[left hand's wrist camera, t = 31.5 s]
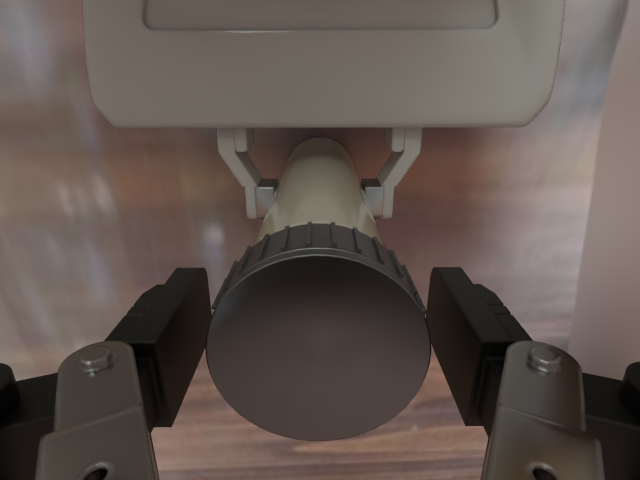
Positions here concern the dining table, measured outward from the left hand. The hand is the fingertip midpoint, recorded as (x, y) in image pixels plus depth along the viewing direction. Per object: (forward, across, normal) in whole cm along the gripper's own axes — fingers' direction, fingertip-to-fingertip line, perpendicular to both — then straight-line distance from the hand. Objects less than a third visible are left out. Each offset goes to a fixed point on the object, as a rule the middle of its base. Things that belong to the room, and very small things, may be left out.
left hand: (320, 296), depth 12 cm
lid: (-2, 0, 0) cm, 2 cm away
